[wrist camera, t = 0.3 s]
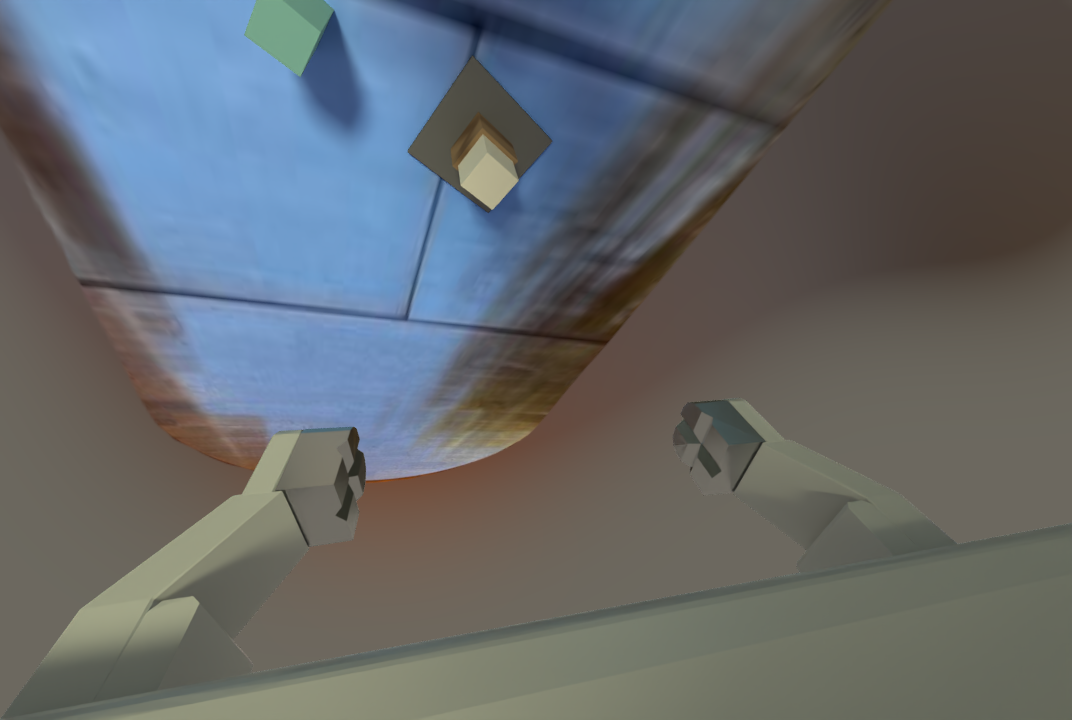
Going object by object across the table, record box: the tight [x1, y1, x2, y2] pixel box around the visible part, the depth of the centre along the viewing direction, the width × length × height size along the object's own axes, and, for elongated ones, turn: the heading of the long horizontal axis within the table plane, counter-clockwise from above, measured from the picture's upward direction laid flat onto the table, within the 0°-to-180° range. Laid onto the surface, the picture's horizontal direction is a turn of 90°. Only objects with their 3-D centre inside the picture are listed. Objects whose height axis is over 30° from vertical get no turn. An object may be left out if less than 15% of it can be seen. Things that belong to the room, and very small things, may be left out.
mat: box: [408, 55, 552, 213], centre depth 52 cm, size 14×14×1 cm
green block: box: [244, 0, 334, 77], centre depth 36 cm, size 4×4×9 cm
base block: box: [451, 112, 518, 171], centre depth 50 cm, size 6×6×5 cm
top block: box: [458, 134, 519, 210], centre depth 47 cm, size 5×5×5 cm
